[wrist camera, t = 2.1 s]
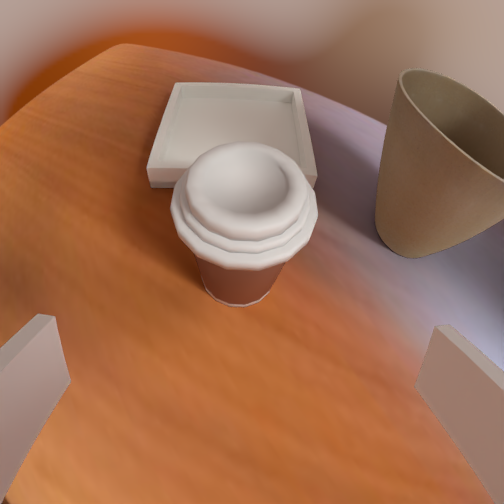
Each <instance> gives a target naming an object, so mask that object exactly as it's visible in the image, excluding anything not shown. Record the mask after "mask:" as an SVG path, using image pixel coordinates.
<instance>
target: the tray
mask: <svg viewBox="0 0 504 504" xmlns="http://www.w3.org/2000/svg"><path fill="white" fill-rule="evenodd" d="M236 141H242V142H258V143H261V144H264V145H267V146H270V147H273V148H276V149H278V150H280V151H281V152H283V153H284V154H286V155H287V156H288V157H290V158H291V159H292V160H294V161H295V162H296V164H297V165H298V167H299V168H300V169H301V171H302V173H303V174H304V176H305V178H306V180H307V181H308V183H309V184H310V186H311V187H312V189H313V188H314V185H315V182H316V179H317V176H318V175H317V169H316V164H315V158H314V153H313V148H312V143H311V138H310V133H309V128H308V123H307V118H306V114H305V109H304V104H303V100H302V96H301V91H300V89H298V88H289V87H279V86H268V85H255V84H239V83H206V82H186V83H175V85H174V88H173V91H172V93H171V96H170V98H169V101H168V104H167V107H166V109H165V112H164V115H163V118H162V121H161V124H160V126H159V129H158V132H157V135H156V138H155V141H154V145H153V148H152V151H151V154H150V157H149V161H148V164H147V167H146V169H147V174H148V178H149V182H150V186H151V188H174V186H175V184H176V183H177V182H178V180H179V179H180V178H181V176H182V175H183V174H184V173H185V171H186V170H187V169H188V167H189V166H191V165H192V164H193V163H194V162H195V161H196V159H197V158H198V157H199V156H200V155H201V154H203V153H205V152H207V151H208V150H210V149H212V148H214V147H215V146H218V145H222V144H227V143H232V142H236Z"/></svg>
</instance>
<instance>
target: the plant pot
mask: <svg viewBox="0 0 504 504" xmlns="http://www.w3.org/2000/svg"><path fill="white" fill-rule="evenodd" d="M502 219H504V114H503V113H502V112H501V111H500V110H499V109H497V108H496V107H495V106H494V105H493V104H492V103H490V102H489V101H488V100H486V99H485V98H484V97H483V96H481V95H480V94H478V93H477V92H475V91H474V90H472V89H471V88H469V87H467V86H465V85H464V84H462V83H460V82H458V81H456V80H454V79H452V78H450V77H448V76H445V75H443V74H440V73H437V72H434V71H431V70H426V69H420V68H410V69H406V70H403V71H402V72H401V73H400V74H399V78H398V82H397V86H396V90H395V95H394V99H393V104H392V108H391V112H390V116H389V120H388V125H387V129H386V134H385V139H384V145H383V151H382V156H381V162H380V170H379V176H378V185H377V194H376V207H375V225H376V229H377V232H378V234H379V236H380V237H381V239H382V240H383V242H384V243H385V244H386V245H387V246H388V247H389V248H390V249H391V250H392V251H394V252H395V253H397V254H399V255H401V256H404V257H407V258H420V257H423V256H427V255H430V254H433V253H436V252H440V251H442V250H445V249H448V248H450V247H452V246H455V245H457V244H459V243H462V242H464V241H466V240H468V239H470V238H472V237H474V236H476V235H478V234H479V233H481V232H483V231H485V230H486V229H488V228H490V227H492V226H493V225H495V224H496V223H498V222H499V221H501V220H502Z"/></svg>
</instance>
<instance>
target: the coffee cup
mask: <svg viewBox="0 0 504 504" xmlns="http://www.w3.org/2000/svg"><path fill="white" fill-rule="evenodd" d="M170 210H171V215H172V218H173V221H174V224H175V227H176V231H177V234H178V237H179V238H180V239H181V240H182V241H183V242H184V243H185V244H186V245H187V246H188V248H189V249H190V250H191V251H192V252H193V253H194V255H195V258H196V261H197V264H198V267H199V270H200V273H201V278H202V281H203V283H204V286H205V289H206V291H207V292H208V293H209V294H210V295H211V296H212V297H213V298H214V299H215V300H216V301H217V302H220V303H222V304H224V305H227V306H229V307H247V306H250V305H253V304H256V303H258V302H260V301H261V300H262V299H263V298H264V297H265V296H266V295H267V294H268V293H269V291H270V289H271V287H272V285H273V284H274V282H275V280H276V278H277V276H278V275H279V273H280V271H281V269H282V267H283V266H284V264H285V262H287V261H289V260H290V259H291V258H292V257H293V256H294V255H295V254H296V253H297V252H299V251H300V250H301V249H302V248H303V247H304V246H305V245H306V244H307V243H308V241H309V239H310V236H311V234H312V231H313V228H314V226H315V223H316V220H317V218H318V211H317V204H316V197H315V192H314V190H313V189H312V187H311V186H310V184H309V183H308V181H307V180H306V178H305V176H304V174H303V173H302V171H301V169H300V168H299V167H298V165H297V164H296V162H295V161H294V160H292V159H291V158H290V157H288V156H287V155H286V154H284V153H283V152H281V151H280V150H278V149H276V148H273V147H270V146H267V145H264V144H261V143H258V142H242V141H236V142H232V143H227V144H222V145H218V146H215V147H214V148H212V149H210V150H208V151H207V152H205V153H203V154H201V155H200V156H199V157H198V158H197V159H196V161H195V162H194V163H193V164H192V165H191V166H189V167H188V169H187V170H186V171H185V173H184V174H183V175H182V176H181V178H180V179H179V180H178V182H177V183H176V184H175V186H174V191H173V196H172V201H171V206H170Z"/></svg>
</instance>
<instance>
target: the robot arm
mask: <svg viewBox="0 0 504 504" xmlns="http://www.w3.org/2000/svg"><path fill="white" fill-rule="evenodd" d="M70 383H71V379H70V376H69V372H68V369H67V365H66V361H65V358H64V354H63V350H62V345H61V341H60V337H59V332H58V328H57V323H56V318H55V316H50V315H44V314H37V315H36V316H35V317H34V318H32V319H31V320H30V321H29V322H28V323H27V324H26V325H25V326H24V327H22V328H21V329H20V330H19V331H18V332H17V333H16V334H15V335H14V336H13V337H12V338H11V339H9V340H8V341H7V342H6V343H5V344H4V345H3V346H2V347H1V348H0V504H1V503H2V501H3V499H4V497H5V495H6V493H7V491H8V489H9V487H10V486H11V484H12V482H13V480H14V478H15V476H16V474H17V472H18V470H19V468H20V467H21V465H22V463H23V461H24V459H25V457H26V456H27V454H28V452H29V450H30V449H31V447H32V445H33V443H34V442H35V440H36V438H37V436H38V435H39V433H40V431H41V430H42V428H43V426H44V424H45V423H46V421H47V419H48V418H49V416H50V414H51V413H52V411H53V410H54V408H55V406H56V405H57V403H58V401H59V400H60V398H61V397H62V395H63V394H64V392H65V390H66V389H67V387H68V386H69V384H70ZM414 387H415V389H416V390H417V391H418V393H419V394H420V395H421V397H422V398H423V400H424V401H425V402H426V404H427V405H428V406H429V408H430V409H431V411H432V412H433V413H434V415H435V416H436V417H437V419H438V420H439V422H440V423H441V424H442V426H443V427H444V429H445V430H446V432H447V433H448V434H449V436H450V437H451V439H452V440H453V441H454V443H455V444H456V446H457V447H458V449H459V450H460V452H461V453H462V455H463V456H464V457H465V459H466V460H467V462H468V463H469V465H470V466H471V468H472V469H473V471H474V472H475V474H476V475H477V477H478V478H479V480H480V481H481V483H482V484H483V486H484V487H485V489H486V491H487V492H488V494H489V495H490V497H491V498H492V500H493V501H494V503H495V504H504V372H503V371H502V370H501V369H500V368H499V367H498V366H497V365H496V364H495V363H493V362H492V361H491V360H490V359H489V358H488V357H487V356H486V355H484V354H483V353H482V352H481V351H480V350H479V349H478V348H477V347H475V346H474V345H473V344H472V343H471V342H470V341H468V340H467V339H466V338H465V337H464V336H463V335H461V334H460V333H459V332H458V331H457V330H456V329H454V328H453V327H452V326H451V325H441V326H435V327H434V330H433V333H432V337H431V340H430V343H429V346H428V349H427V352H426V355H425V358H424V361H423V364H422V367H421V369H420V372H419V375H418V378H417V380H416V383H415V385H414Z"/></svg>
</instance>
